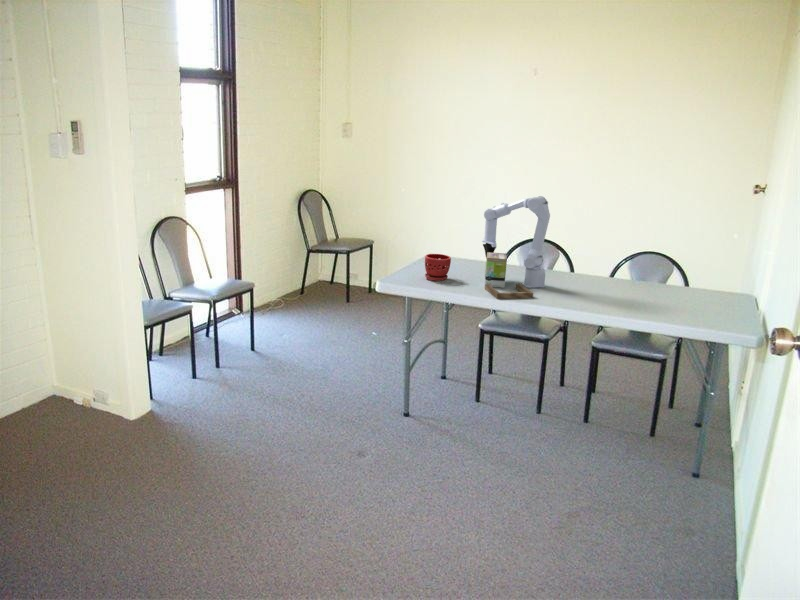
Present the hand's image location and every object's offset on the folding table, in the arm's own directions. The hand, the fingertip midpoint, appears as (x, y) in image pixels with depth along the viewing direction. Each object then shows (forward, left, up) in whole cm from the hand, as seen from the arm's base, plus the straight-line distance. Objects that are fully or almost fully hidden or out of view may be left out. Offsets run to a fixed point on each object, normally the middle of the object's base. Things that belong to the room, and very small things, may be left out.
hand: (488, 258), depth 346 cm
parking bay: (0, +30, -10) cm, 32 cm away
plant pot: (+27, 0, -11) cm, 29 cm away
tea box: (0, +12, -11) cm, 16 cm away
